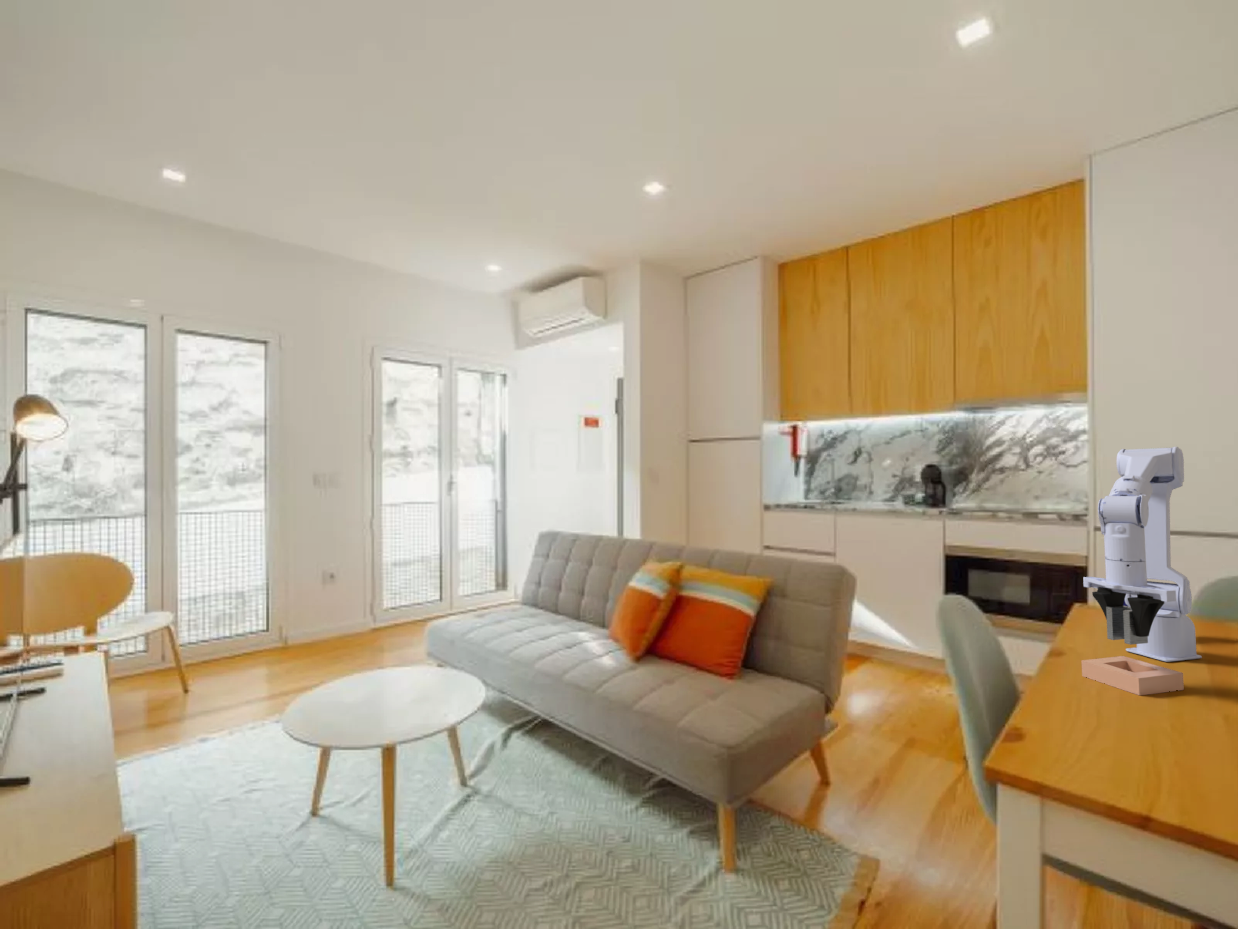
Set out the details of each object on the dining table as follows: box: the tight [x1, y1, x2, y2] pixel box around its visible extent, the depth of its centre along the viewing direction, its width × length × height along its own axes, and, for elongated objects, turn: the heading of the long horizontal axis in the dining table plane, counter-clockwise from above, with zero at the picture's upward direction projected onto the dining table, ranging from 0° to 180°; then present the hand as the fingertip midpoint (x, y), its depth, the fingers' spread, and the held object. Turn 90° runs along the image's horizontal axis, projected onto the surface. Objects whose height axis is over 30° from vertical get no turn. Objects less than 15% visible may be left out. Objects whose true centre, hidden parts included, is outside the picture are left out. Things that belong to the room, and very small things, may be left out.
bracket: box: [1106, 606, 1148, 645], centre depth 105 cm, size 4×4×6 cm
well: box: [1081, 655, 1185, 696], centre depth 104 cm, size 10×10×3 cm
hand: (1128, 632), depth 105 cm, fingers closed on bracket, 4 cm apart
